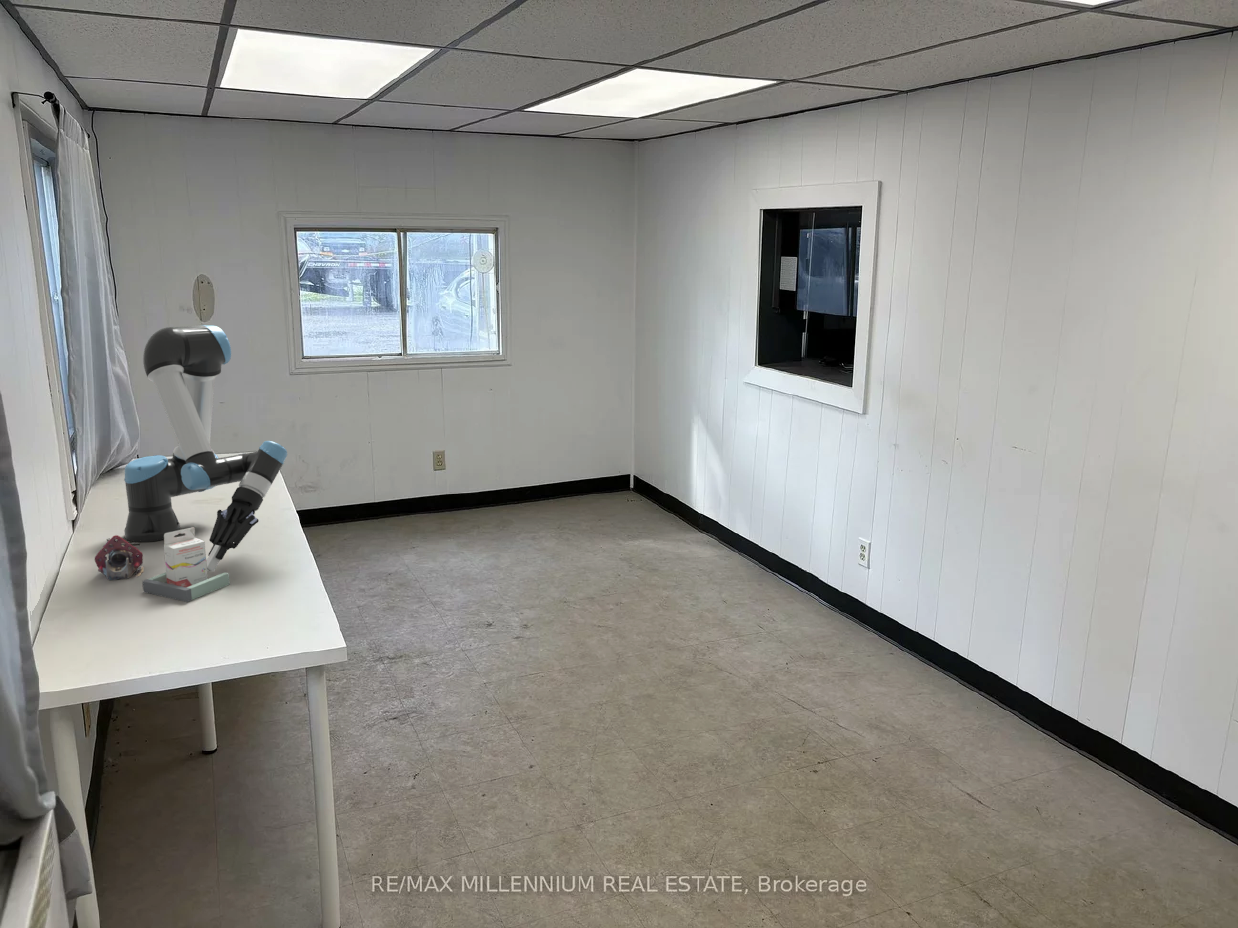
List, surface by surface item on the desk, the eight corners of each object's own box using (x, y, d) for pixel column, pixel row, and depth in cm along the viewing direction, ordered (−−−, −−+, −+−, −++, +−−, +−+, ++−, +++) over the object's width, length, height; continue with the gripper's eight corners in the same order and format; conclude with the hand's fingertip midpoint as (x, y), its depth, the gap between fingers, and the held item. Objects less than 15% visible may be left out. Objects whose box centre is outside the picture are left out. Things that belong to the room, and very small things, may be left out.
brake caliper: (91, 577, 232) (91, 533, 237) (99, 589, 242) (100, 547, 246) (140, 572, 236) (140, 529, 241) (147, 584, 246) (146, 543, 250)
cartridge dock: (143, 592, 229) (142, 580, 228) (187, 575, 241) (186, 564, 241) (187, 601, 223) (185, 590, 223) (229, 584, 236) (228, 573, 235)
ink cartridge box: (176, 592, 229) (171, 537, 226) (167, 588, 232) (161, 533, 229) (209, 583, 236) (204, 529, 232) (199, 579, 239) (194, 525, 235)
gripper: (277, 502, 249) (235, 579, 238) (241, 496, 254) (199, 571, 243) (261, 488, 243) (218, 566, 232) (224, 482, 248) (180, 559, 237)
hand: (208, 569), depth 237 cm, fingers closed
